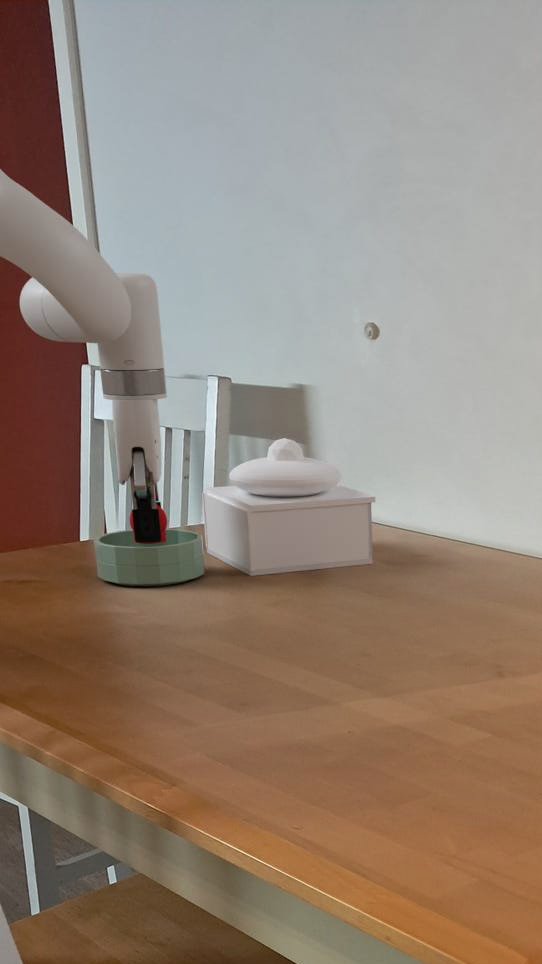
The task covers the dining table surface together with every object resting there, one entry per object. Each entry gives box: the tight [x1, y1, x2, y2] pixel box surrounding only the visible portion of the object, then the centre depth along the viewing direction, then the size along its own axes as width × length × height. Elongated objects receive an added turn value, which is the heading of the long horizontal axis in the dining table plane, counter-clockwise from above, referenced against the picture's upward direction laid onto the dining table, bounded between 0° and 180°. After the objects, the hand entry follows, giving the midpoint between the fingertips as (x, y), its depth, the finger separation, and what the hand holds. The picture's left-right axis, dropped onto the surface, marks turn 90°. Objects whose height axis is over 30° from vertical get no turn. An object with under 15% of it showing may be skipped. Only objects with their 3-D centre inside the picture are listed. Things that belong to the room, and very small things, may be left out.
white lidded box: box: [201, 437, 376, 577], centre depth 172 cm, size 18×18×16 cm
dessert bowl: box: [93, 528, 206, 587], centre depth 162 cm, size 13×13×5 cm
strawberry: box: [129, 504, 168, 544], centre depth 160 cm, size 5×5×5 cm
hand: (149, 536), depth 161 cm, fingers closed on strawberry, 4 cm apart
